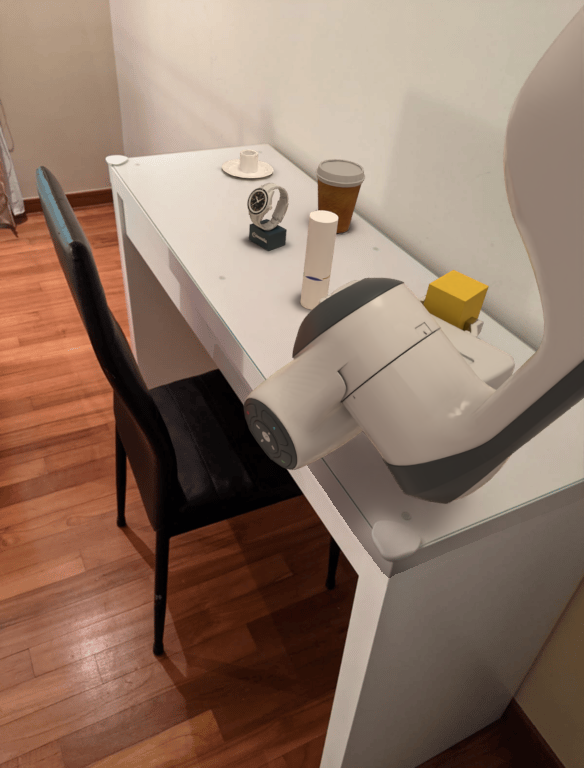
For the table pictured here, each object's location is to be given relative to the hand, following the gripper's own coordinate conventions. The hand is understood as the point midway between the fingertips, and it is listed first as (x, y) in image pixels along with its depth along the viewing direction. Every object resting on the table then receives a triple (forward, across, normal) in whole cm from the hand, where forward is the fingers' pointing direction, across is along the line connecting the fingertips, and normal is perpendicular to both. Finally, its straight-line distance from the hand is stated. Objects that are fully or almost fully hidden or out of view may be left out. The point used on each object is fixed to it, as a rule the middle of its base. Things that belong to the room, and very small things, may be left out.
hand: (453, 313), depth 68 cm
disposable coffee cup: (+36, +45, +17) cm, 61 cm away
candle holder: (+42, +77, +17) cm, 90 cm away
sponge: (-1, 0, +5) cm, 5 cm away
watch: (+20, +48, +17) cm, 55 cm away
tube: (+11, +29, +17) cm, 35 cm away
